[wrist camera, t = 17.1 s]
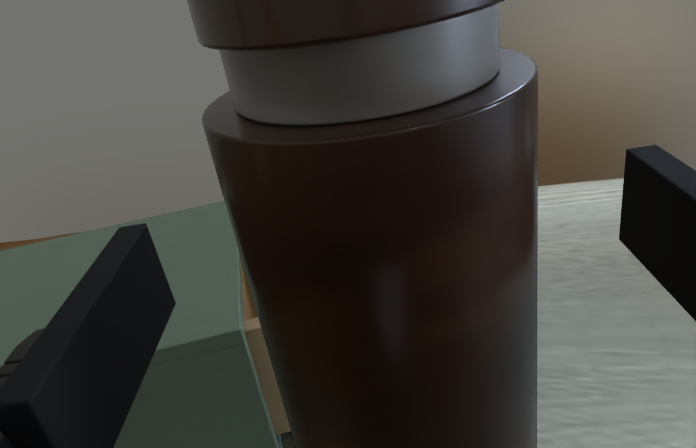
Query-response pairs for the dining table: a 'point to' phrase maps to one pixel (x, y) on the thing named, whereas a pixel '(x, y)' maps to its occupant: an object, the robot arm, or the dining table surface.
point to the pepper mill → (384, 214)
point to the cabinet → (178, 337)
